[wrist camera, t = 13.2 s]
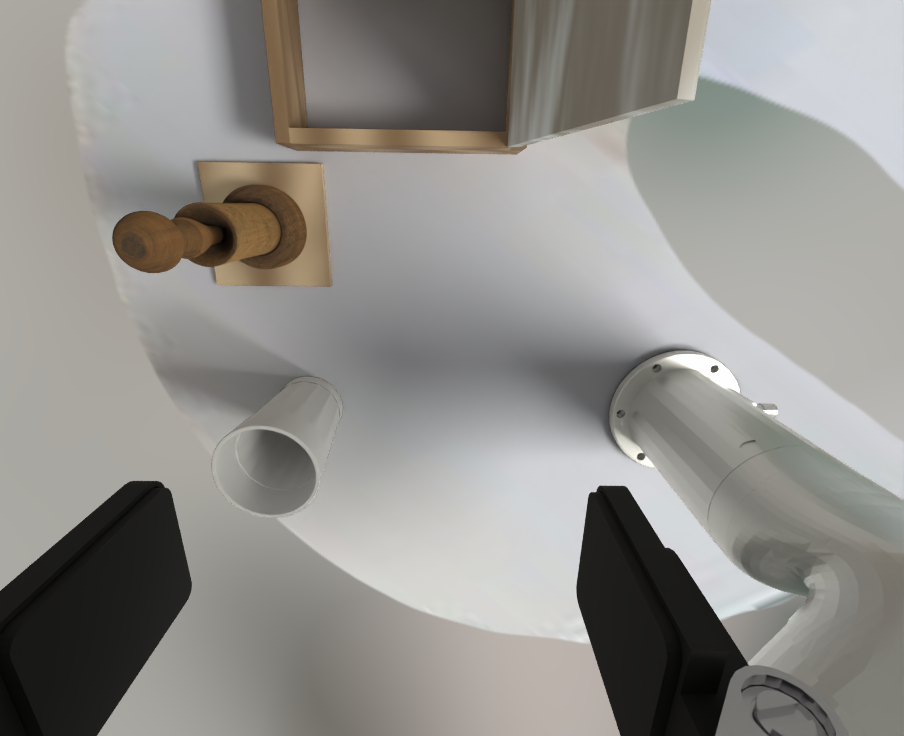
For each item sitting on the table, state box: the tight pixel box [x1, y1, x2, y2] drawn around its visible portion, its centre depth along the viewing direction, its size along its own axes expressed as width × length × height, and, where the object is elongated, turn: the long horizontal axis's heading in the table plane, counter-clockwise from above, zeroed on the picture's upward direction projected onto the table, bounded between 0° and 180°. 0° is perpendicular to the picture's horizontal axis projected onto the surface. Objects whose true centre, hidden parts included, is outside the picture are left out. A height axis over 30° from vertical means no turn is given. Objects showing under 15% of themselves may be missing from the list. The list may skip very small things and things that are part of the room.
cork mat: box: [198, 162, 332, 287], centre depth 39 cm, size 10×10×1 cm
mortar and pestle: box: [112, 185, 307, 273], centre depth 30 cm, size 7×6×18 cm
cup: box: [211, 376, 343, 518], centre depth 39 cm, size 8×8×12 cm
